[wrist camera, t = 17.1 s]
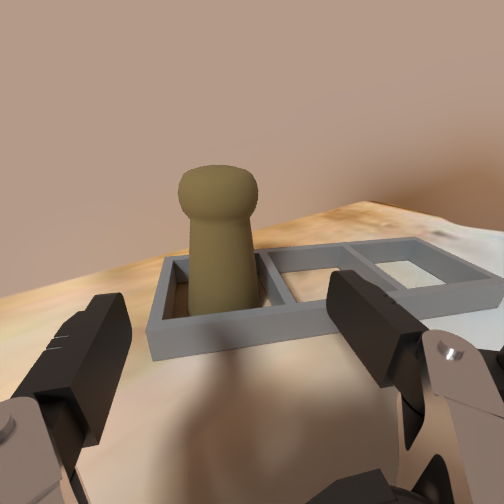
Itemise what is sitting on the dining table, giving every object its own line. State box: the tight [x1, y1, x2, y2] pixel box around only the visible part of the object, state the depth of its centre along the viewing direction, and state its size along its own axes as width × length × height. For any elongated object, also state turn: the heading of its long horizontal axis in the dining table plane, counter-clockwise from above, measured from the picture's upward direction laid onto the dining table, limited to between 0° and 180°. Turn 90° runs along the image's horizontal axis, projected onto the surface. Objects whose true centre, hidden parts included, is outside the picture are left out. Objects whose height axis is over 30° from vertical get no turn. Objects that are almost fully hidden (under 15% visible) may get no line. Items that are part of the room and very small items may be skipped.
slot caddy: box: [145, 237, 504, 361], centre depth 21 cm, size 27×10×2 cm, turn 102°
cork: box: [178, 165, 261, 317], centre depth 18 cm, size 6×6×11 cm
